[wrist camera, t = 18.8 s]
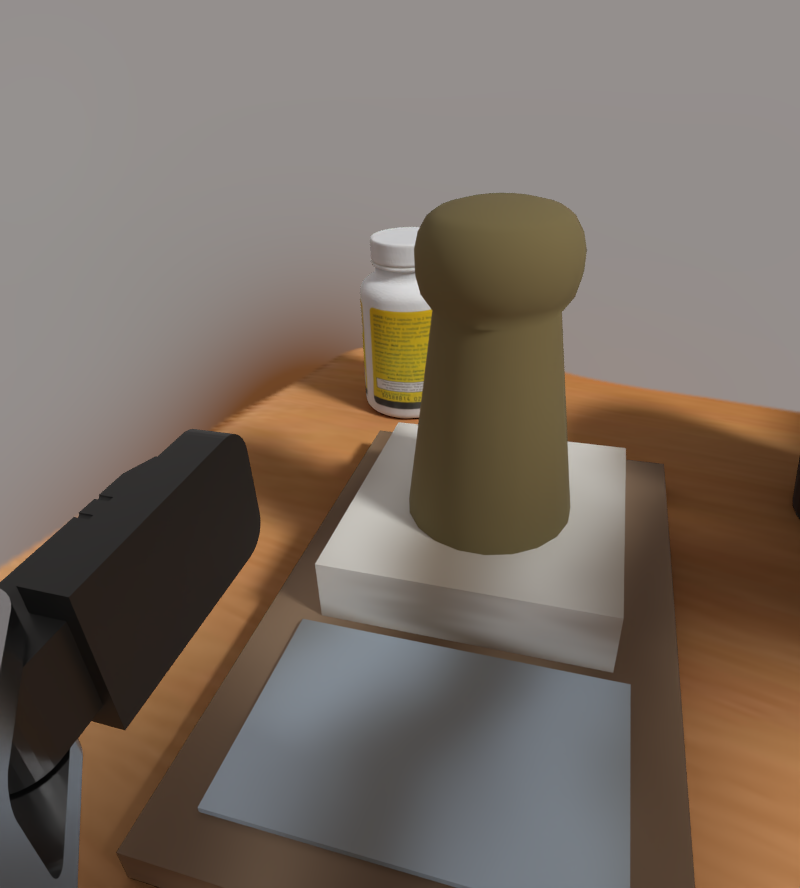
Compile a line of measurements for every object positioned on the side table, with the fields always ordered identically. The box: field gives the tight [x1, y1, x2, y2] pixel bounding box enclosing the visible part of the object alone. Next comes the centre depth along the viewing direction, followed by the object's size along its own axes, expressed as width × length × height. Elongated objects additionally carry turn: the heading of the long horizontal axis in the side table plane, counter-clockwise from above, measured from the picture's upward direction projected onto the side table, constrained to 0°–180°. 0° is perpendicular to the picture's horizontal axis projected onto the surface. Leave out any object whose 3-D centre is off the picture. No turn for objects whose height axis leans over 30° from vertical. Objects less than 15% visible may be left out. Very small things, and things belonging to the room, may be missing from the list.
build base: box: [116, 422, 695, 888], centre depth 24 cm, size 14×22×4 cm, turn 164°
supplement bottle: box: [360, 227, 432, 418], centre depth 38 cm, size 5×5×10 cm
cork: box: [409, 193, 587, 555], centre depth 22 cm, size 6×6×11 cm
